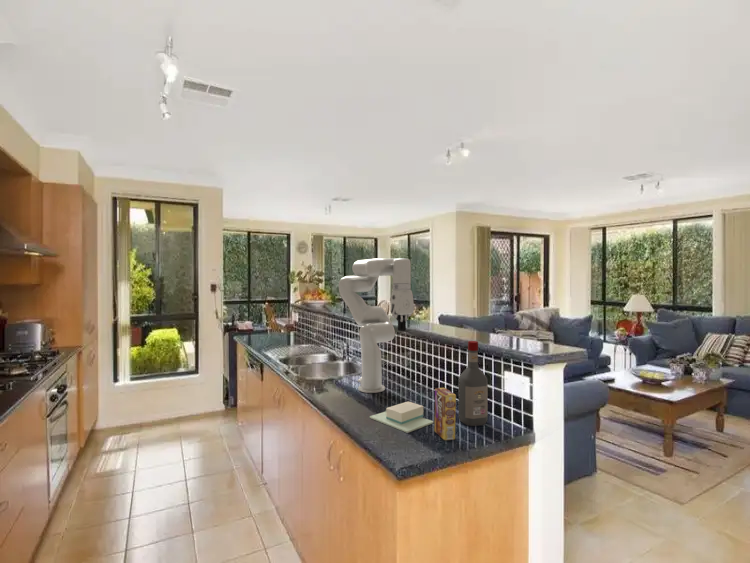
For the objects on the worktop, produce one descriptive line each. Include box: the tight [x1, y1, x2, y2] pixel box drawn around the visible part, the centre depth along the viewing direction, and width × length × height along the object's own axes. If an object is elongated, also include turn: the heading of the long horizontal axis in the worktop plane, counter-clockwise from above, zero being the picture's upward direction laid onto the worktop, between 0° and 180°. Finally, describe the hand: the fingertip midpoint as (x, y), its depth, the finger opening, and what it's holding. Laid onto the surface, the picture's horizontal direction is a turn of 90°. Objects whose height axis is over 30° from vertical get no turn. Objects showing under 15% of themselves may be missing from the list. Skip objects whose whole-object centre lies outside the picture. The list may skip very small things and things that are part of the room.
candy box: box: [433, 387, 457, 441], centre depth 141 cm, size 9×4×15 cm, turn 14°
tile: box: [385, 401, 424, 424], centre depth 157 cm, size 8×4×12 cm
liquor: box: [458, 340, 489, 427], centre depth 153 cm, size 9×9×30 cm
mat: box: [369, 410, 435, 434], centre depth 155 cm, size 20×14×1 cm
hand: (401, 330), depth 175 cm, fingers closed
